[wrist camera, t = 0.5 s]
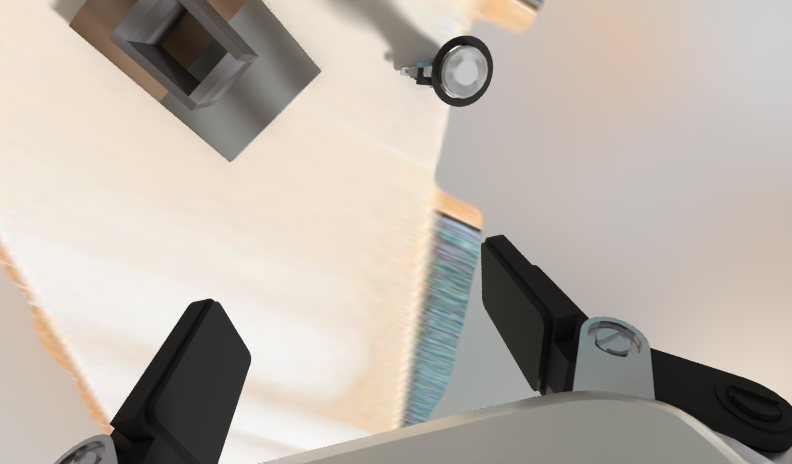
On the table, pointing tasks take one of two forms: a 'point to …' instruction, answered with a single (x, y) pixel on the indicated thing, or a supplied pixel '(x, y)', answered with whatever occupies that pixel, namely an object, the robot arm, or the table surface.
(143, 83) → the base with square socket
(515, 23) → the table surface
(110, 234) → the table surface
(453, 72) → the push button
